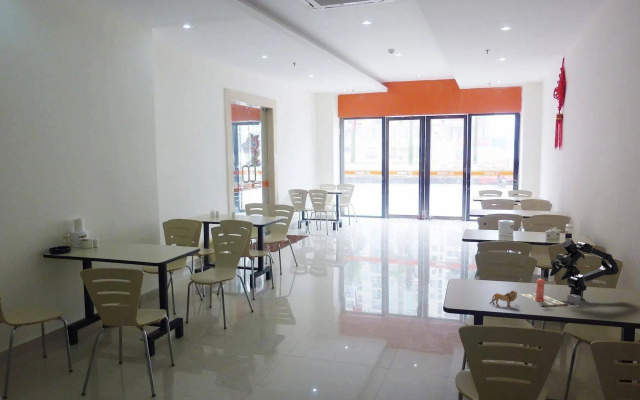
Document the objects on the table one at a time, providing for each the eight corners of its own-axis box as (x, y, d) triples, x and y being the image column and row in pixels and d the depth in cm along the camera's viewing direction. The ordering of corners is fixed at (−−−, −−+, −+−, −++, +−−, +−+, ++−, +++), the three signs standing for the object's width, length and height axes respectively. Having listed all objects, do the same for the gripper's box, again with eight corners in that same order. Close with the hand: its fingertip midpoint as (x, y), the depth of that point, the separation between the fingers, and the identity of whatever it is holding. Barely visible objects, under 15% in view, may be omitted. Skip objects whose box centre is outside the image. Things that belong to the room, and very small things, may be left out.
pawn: (537, 298, 280) (538, 277, 279) (546, 300, 276) (547, 279, 275) (533, 300, 277) (534, 278, 276) (541, 302, 273) (542, 280, 272)
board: (540, 295, 294) (540, 292, 293) (568, 306, 271) (568, 303, 271) (517, 296, 290) (517, 294, 290) (543, 307, 267) (543, 305, 267)
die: (571, 302, 279) (572, 294, 278) (580, 304, 274) (580, 296, 274) (567, 303, 276) (567, 295, 275) (575, 306, 272) (576, 297, 271)
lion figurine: (515, 305, 272) (516, 289, 271) (517, 308, 266) (518, 292, 266) (488, 303, 275) (489, 287, 274) (489, 305, 270) (490, 290, 269)
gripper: (553, 246, 290) (537, 265, 289) (577, 252, 272) (559, 272, 271) (564, 259, 293) (547, 277, 291) (587, 265, 275) (570, 285, 273)
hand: (555, 277), depth 281 cm, fingers open, 9 cm apart
